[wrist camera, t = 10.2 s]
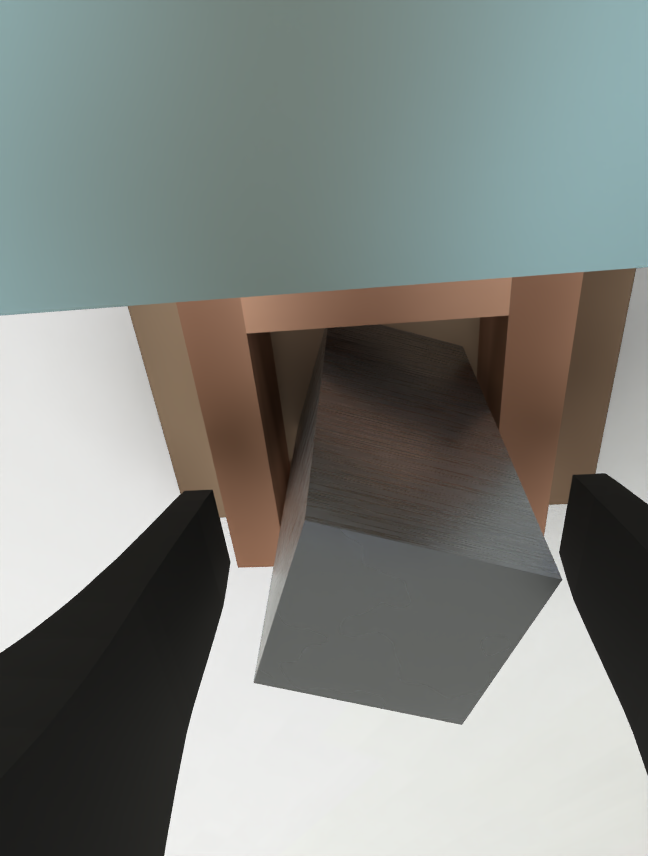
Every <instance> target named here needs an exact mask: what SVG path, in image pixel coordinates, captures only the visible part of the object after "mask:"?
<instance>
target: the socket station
mask: <svg viewBox="0 0 648 856" xmlns="http://www.w3.org/2000/svg"><path fill="white" fill-rule="evenodd" d="M642 267H648V0H0V315H14V314H27V313H40V312H54V311H67V310H81V309H94V308H107V307H121V306H128V309H129V312H130V316H131V319H132V323H133V327H134V330H135V334H136V337H137V341H138V344H139V348H140V351H141V355H142V359H143V362H144V366H145V369H146V373H147V376H148V380H149V383H150V387H151V390H152V394H153V398H154V401H155V405H156V408H157V412H158V415H159V419H160V422H161V426H162V429H163V433H164V437H165V440H166V444H167V447H168V451H169V454H170V458H171V461H172V465H173V469H174V472H175V476H176V479H177V483H178V486H179V490H180V493H182V492H184V491H190V490H213V493H214V497H215V501H216V505H217V509H218V513H219V517H226V518H227V522H228V527H229V531H230V535H231V539H232V544H233V548H234V552H235V556H236V561H237V565H238V567H270V566H274V562H275V556H276V550H277V544H278V538H279V533H280V527H281V521H282V515H283V509H284V504H285V498H286V492H287V486H288V481H289V475H290V469H291V463H292V457H293V452H294V446H295V440H296V434H297V428H298V424H299V421H300V417H301V413H302V410H303V406H304V402H305V399H306V395H307V391H308V388H309V384H310V381H311V377H312V373H313V370H314V366H315V362H316V359H317V355H318V351H319V348H320V344H321V340H322V337H323V333H324V330H325V328H334V327H348V326H363V325H377V324H381V325H384V326H388V327H392V328H396V329H399V330H403V331H407V332H411V333H414V334H418V335H422V336H426V337H429V338H433V339H437V340H441V341H444V342H448V343H452V344H456V345H459V346H463V348H464V350H465V353H466V355H467V358H468V360H469V362H470V365H471V367H472V369H473V372H474V374H475V376H476V379H477V381H478V383H479V386H480V388H481V390H482V393H483V395H484V397H485V400H486V402H487V404H488V407H489V409H490V411H491V414H492V416H493V418H494V421H495V423H496V426H497V428H498V430H499V433H500V435H501V437H502V440H503V442H504V444H505V447H506V449H507V451H508V454H509V456H510V458H511V461H512V463H513V465H514V468H515V470H516V472H517V475H518V477H519V479H520V482H521V484H522V486H523V489H524V491H525V494H526V496H527V498H528V501H529V503H530V505H531V508H532V510H533V512H534V515H535V517H536V519H537V522H538V524H539V526H540V529H541V531H542V533H543V536H544V532H545V526H546V519H547V512H548V506H549V505H552V504H568V499H569V493H570V487H571V482H572V476H573V475H579V474H595V473H596V467H597V462H598V457H599V452H600V447H601V442H602V437H603V432H604V427H605V422H606V417H607V412H608V407H609V402H610V397H611V392H612V387H613V382H614V377H615V372H616V367H617V362H618V357H619V352H620V347H621V342H622V337H623V332H624V327H625V322H626V317H627V312H628V307H629V301H630V296H631V291H632V286H633V281H634V276H635V271H636V268H642Z"/></svg>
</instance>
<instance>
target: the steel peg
mask: <svg viewBox="0 0 648 856" xmlns="http://www.w3.org/2000/svg"><path fill="white" fill-rule="evenodd" d="M561 581H562V578H561V576H560V573H559V571H558V569H557V566H556V564H555V562H554V559H553V557H552V554H551V552H550V550H549V547H548V545H547V543H546V540H545V538H544V536H543V533H542V531H541V529H540V526H539V524H538V522H537V519H536V517H535V515H534V512H533V510H532V508H531V505H530V503H529V501H528V498H527V496H526V494H525V491H524V489H523V486H522V484H521V482H520V479H519V477H518V475H517V472H516V470H515V468H514V465H513V463H512V461H511V458H510V456H509V454H508V451H507V449H506V447H505V444H504V442H503V440H502V437H501V435H500V433H499V430H498V428H497V426H496V423H495V421H494V418H493V416H492V414H491V411H490V409H489V407H488V404H487V402H486V400H485V397H484V395H483V393H482V390H481V388H480V386H479V383H478V381H477V379H476V376H475V374H474V372H473V369H472V367H471V365H470V362H469V360H468V358H467V355H466V353H465V350H464V348H463V346H459V345H456V344H452V343H448V342H444V341H441V340H437V339H433V338H429V337H426V336H422V335H418V334H414V333H411V332H407V331H403V330H399V329H396V328H392V327H388V326H384V325H381V324H377V325H363V326H348V327H334V328H325V330H324V333H323V337H322V340H321V344H320V348H319V351H318V355H317V359H316V362H315V366H314V370H313V373H312V377H311V381H310V384H309V388H308V391H307V395H306V399H305V402H304V406H303V410H302V413H301V417H300V421H299V424H298V428H297V434H296V440H295V446H294V452H293V457H292V463H291V469H290V475H289V481H288V486H287V492H286V498H285V504H284V509H283V515H282V521H281V527H280V533H279V538H278V544H277V550H276V556H275V562H274V567H273V573H272V579H271V585H270V590H269V596H268V602H267V608H266V614H265V619H264V625H263V631H262V637H261V642H260V648H259V654H258V660H257V666H256V671H255V677H254V683H257V684H262V685H267V686H272V687H277V688H282V689H287V690H292V691H297V692H302V693H307V694H312V695H317V696H322V697H327V698H332V699H337V700H342V701H347V702H352V703H356V704H361V705H366V706H371V707H376V708H381V709H386V710H391V711H396V712H401V713H406V714H411V715H416V716H421V717H426V718H431V719H436V720H441V721H446V722H451V723H456V724H461V725H462V724H463V722H464V721H465V720H466V718H467V717H468V715H469V714H470V712H471V711H472V709H473V708H474V707H475V705H476V704H477V702H478V701H479V699H480V698H481V696H482V695H483V694H484V692H485V691H486V689H487V688H488V686H489V685H490V683H491V682H492V680H493V679H494V678H495V676H496V675H497V673H498V672H499V670H500V669H501V667H502V666H503V665H504V663H505V662H506V660H507V659H508V657H509V656H510V654H511V653H512V652H513V650H514V649H515V647H516V646H517V644H518V643H519V641H520V640H521V639H522V637H523V636H524V634H525V633H526V631H527V630H528V628H529V627H530V626H531V624H532V623H533V621H534V620H535V618H536V617H537V615H538V614H539V613H540V611H541V610H542V608H543V607H544V605H545V604H546V602H547V601H548V600H549V598H550V597H551V595H552V594H553V592H554V591H555V589H556V588H557V587H558V585H559V584H560V582H561Z"/></svg>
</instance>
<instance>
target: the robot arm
mask: <svg viewBox="0 0 648 856" xmlns="http://www.w3.org/2000/svg"><path fill="white" fill-rule="evenodd" d="M559 554H560V557H561V560H562V564H563V567H564V571H565V574H566V578H567V581H568V584H569V587H570V590H571V593H572V596H573V600H574V602H575V604H576V606H577V609H578V611H579V613H580V615H581V618H582V620H583V622H584V624H585V626H586V629H587V631H588V633H589V635H590V638H591V640H592V642H593V644H594V646H595V648H596V651H597V653H598V655H599V657H600V659H601V661H602V664H603V666H604V668H605V670H606V672H607V675H608V677H609V679H610V681H611V683H612V685H613V688H614V690H615V692H616V694H617V696H618V698H619V701H620V703H621V705H622V707H623V710H624V712H625V714H626V717H627V719H628V722H629V724H630V727H631V729H632V731H633V734H634V737H635V740H636V743H637V745H638V748H639V751H640V754H641V757H642V760H643V763H644V766H645V769H646V772H647V774H648V504H647V503H645V502H644V501H643V500H641V499H640V498H639V497H637V496H636V495H635V494H633V493H632V492H631V491H629V490H628V489H627V488H625V487H624V486H622V485H621V484H620V483H618V482H617V481H616V480H614V479H613V478H611V477H610V476H608V475H607V474H605V473H604V474H579V475H573V476H572V482H571V487H570V493H569V499H568V505H567V510H566V516H565V522H564V528H563V533H562V539H561V545H560V551H559ZM229 568H230V558H229V554H228V550H227V546H226V542H225V538H224V534H223V530H222V526H221V522H220V517H219V513H218V509H217V505H216V501H215V497H214V493H213V490H190V491H184V492H182V493H181V494H180V495H179V496H178V497H177V498H176V499H175V500H174V501H173V502H172V503H171V504H170V505H169V506H168V507H167V509H166V510H165V511H164V512H163V513H162V514H161V515H160V516H159V517H158V518H157V519H156V520H155V521H154V522H153V523H152V524H151V525H150V526H149V527H148V528H147V529H146V530H145V531H144V532H143V533H142V534H141V535H140V536H139V537H138V538H137V539H136V540H135V541H134V542H133V543H132V544H131V545H130V546H129V547H128V548H127V549H126V550H125V551H124V552H123V553H122V554H121V555H120V556H119V557H118V558H117V559H116V560H115V561H114V562H112V563H111V564H110V565H109V566H108V567H107V568H106V569H105V570H104V571H103V572H101V573H100V574H99V575H98V576H97V577H96V578H95V579H94V580H93V581H92V582H91V583H89V584H88V585H87V586H86V587H85V588H84V589H83V590H82V591H81V592H80V593H78V594H77V595H76V596H75V597H74V598H72V599H71V600H70V601H69V602H68V603H66V604H65V605H64V606H63V607H62V608H60V609H59V610H58V611H57V612H55V613H54V614H53V615H52V616H50V617H49V618H48V619H46V620H45V621H44V622H43V623H41V624H40V625H39V626H37V627H36V628H35V629H34V630H32V631H31V632H30V633H28V634H27V635H26V636H24V637H23V638H21V639H20V640H19V641H17V642H16V643H14V644H13V645H11V646H10V647H8V648H7V649H6V650H4V651H3V652H1V653H0V856H164V853H165V847H166V840H167V835H168V829H169V824H170V818H171V812H172V807H173V801H174V796H175V790H176V784H177V779H178V774H179V769H180V764H181V759H182V754H183V749H184V744H185V739H186V734H187V730H188V726H189V722H190V718H191V714H192V710H193V707H194V703H195V700H196V697H197V693H198V690H199V687H200V683H201V680H202V677H203V673H204V670H205V667H206V663H207V660H208V657H209V653H210V650H211V647H212V643H213V640H214V637H215V633H216V630H217V626H218V623H219V619H220V616H221V612H222V609H223V604H224V599H225V593H226V587H227V581H228V574H229Z"/></svg>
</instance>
